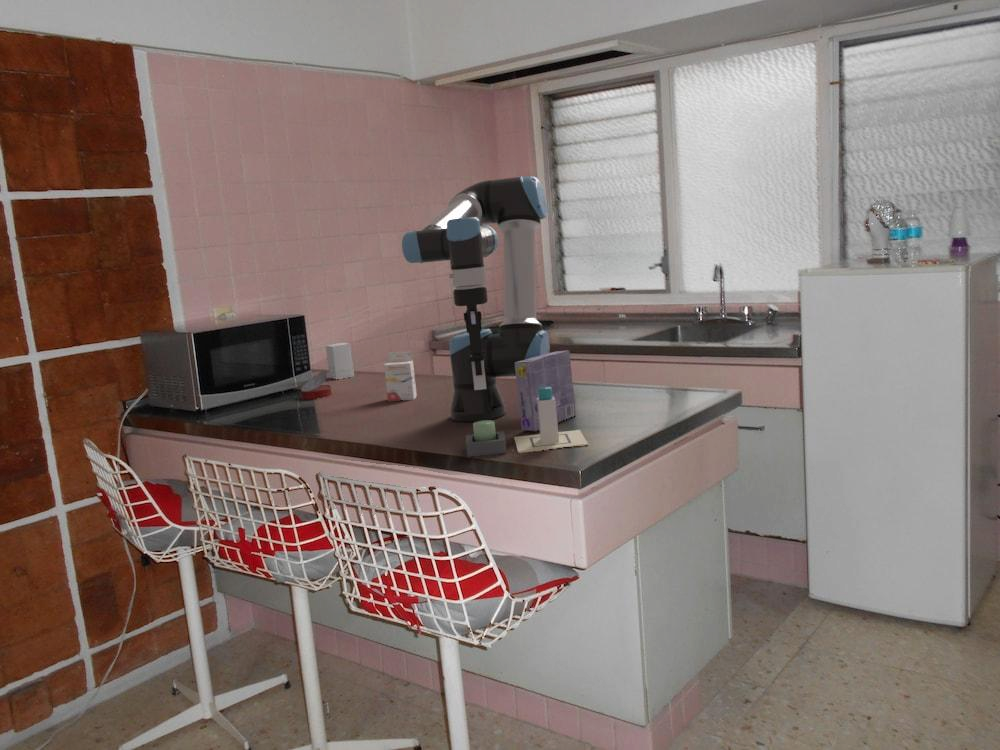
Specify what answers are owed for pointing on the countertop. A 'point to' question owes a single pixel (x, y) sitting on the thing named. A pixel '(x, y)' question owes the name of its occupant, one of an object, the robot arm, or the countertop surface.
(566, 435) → the cream square mat
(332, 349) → the supplement box
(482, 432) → the button
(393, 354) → the ink cartridge box
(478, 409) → the robot arm
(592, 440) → the countertop surface
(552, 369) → the cake pan box
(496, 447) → the button box
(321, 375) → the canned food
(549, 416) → the teal capped white bottle
